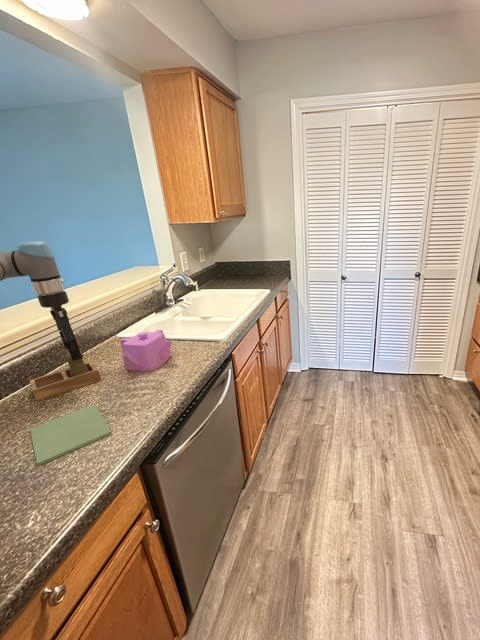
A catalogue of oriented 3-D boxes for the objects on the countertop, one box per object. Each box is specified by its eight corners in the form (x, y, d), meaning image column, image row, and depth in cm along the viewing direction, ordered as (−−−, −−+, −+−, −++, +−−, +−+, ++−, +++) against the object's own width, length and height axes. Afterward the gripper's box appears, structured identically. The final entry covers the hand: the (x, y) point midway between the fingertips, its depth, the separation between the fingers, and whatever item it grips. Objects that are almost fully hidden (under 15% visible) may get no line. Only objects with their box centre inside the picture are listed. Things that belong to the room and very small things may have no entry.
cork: (81, 385, 110) (70, 357, 106) (68, 383, 112) (57, 355, 108) (96, 377, 116) (87, 349, 111) (83, 375, 117) (74, 347, 113)
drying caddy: (33, 390, 109) (29, 380, 108) (94, 370, 120) (91, 361, 119) (36, 401, 102) (32, 391, 101) (101, 380, 113) (98, 370, 112)
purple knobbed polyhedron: (167, 349, 135) (160, 321, 130) (178, 364, 122) (171, 334, 117) (122, 361, 126) (113, 332, 121) (128, 379, 113) (119, 347, 108)
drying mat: (30, 430, 89) (29, 428, 88) (96, 406, 98) (95, 403, 98) (37, 466, 76) (36, 463, 76) (111, 433, 86) (111, 431, 86)
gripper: (72, 296, 95) (94, 360, 103) (59, 284, 112) (79, 340, 121) (41, 302, 91) (66, 369, 99) (32, 289, 108) (55, 346, 116)
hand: (73, 353), depth 110 cm, fingers open, 13 cm apart
